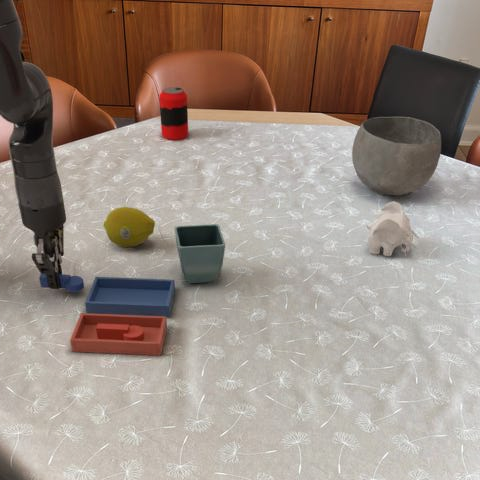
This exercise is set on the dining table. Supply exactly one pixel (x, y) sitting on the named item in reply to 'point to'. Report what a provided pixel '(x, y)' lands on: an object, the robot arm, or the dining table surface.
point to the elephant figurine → (390, 230)
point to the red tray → (88, 341)
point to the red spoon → (120, 332)
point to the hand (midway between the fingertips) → (56, 285)
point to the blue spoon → (65, 282)
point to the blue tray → (131, 296)
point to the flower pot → (200, 252)
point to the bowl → (396, 154)
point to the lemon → (128, 226)
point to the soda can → (174, 113)
